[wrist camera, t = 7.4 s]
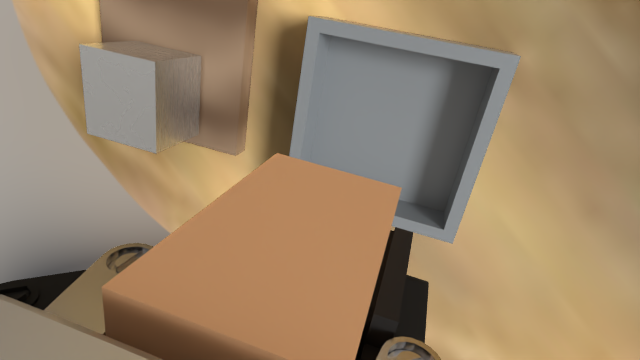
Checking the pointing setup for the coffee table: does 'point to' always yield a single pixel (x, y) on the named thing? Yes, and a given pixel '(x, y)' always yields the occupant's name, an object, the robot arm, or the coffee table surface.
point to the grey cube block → (141, 93)
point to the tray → (401, 114)
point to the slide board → (201, 39)
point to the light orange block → (261, 270)
